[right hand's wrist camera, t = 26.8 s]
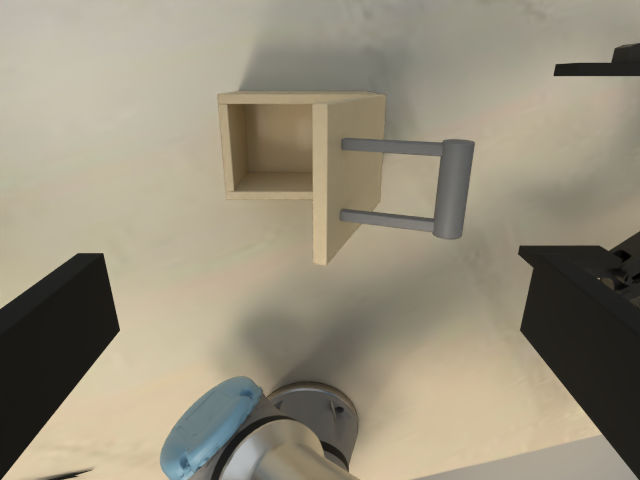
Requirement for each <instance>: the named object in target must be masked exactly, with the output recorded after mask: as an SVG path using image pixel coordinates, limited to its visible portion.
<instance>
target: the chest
mask: <svg viewBox="0 0 640 480" xmlns="http://www.w3.org/2000/svg"><path fill="white" fill-rule="evenodd" d="M370 95H377V93H373V92H369V91H235V92H229V93H222V94H217V96H218V107H219V118H220V130H221V141H222V153H223V164H224V176H225V187H226V199H227V200H313V136H312V105H313V104H314V103H321V102H328V101H335V100H342V99H349V98H356V97H363V96H370ZM378 95H380V94H378Z"/></svg>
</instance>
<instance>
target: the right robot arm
mask: <svg viewBox="0 0 640 480" xmlns="http://www.w3.org/2000/svg"><path fill="white" fill-rule="evenodd" d="M119 331H120V328H119V323H118V319H117V314H116V310H115V305H114V300H113V296H112V291H111V287H110V282H109V278H108V273H107V268H106V264H105V259H104V255H103V253H78V254H76V255H75V256H73V257H72V258H71V259H69V260H68V261H67V262H65V263H64V264H62V265H61V266H60V267H58V268H57V269H55V270H54V271H53V272H51V273H50V274H48V275H47V276H46V277H44V278H43V279H42V280H40V281H39V282H37V283H36V284H35V285H33V286H32V287H30V288H29V289H28V290H26V291H25V292H24V293H22V294H21V295H19V296H18V297H17V298H15V299H14V300H12V301H11V302H10V303H8V304H7V305H5V306H4V307H3V308H1V309H0V480H1V479H2V478H3V477H4V475H5V474H6V473H7V472H8V470H9V469H10V468H11V467H12V465H13V464H14V463H15V462H16V460H17V459H18V458H19V457H20V455H21V454H22V453H23V452H24V450H25V449H26V448H27V447H28V445H29V444H30V443H31V442H32V440H33V439H34V438H35V436H36V435H37V434H38V433H39V431H40V430H41V429H42V428H43V426H44V425H45V424H46V423H47V421H48V420H49V419H50V418H51V416H52V415H53V414H54V413H55V411H56V410H57V409H58V408H59V406H60V405H61V404H62V403H63V401H64V400H65V399H66V398H67V396H68V395H69V394H70V392H71V391H72V390H73V389H74V387H75V386H76V385H77V384H78V382H79V381H80V380H81V379H82V377H83V376H84V375H85V374H86V372H87V371H88V370H89V369H90V367H91V366H92V365H93V364H94V362H95V361H96V360H97V359H98V357H99V356H100V355H101V354H102V352H103V351H104V350H105V349H106V347H107V346H108V345H109V343H110V342H111V341H112V340H113V338H114V337H115V336H116V335H117V333H118V332H119ZM520 331H521V332H522V333H523V335H524V336H525V337H526V338H527V340H528V341H529V342H530V343H531V345H532V346H533V347H534V349H535V350H536V351H537V352H538V354H539V355H540V356H541V357H542V359H543V360H544V361H545V362H546V364H547V365H548V366H549V367H550V369H551V370H552V371H553V372H554V374H555V375H556V376H557V377H558V379H559V380H560V381H561V382H562V384H563V385H564V386H565V387H566V389H567V390H568V391H569V392H570V394H571V395H572V396H573V398H574V399H575V400H576V401H577V403H578V404H579V405H580V406H581V408H582V409H583V410H584V411H585V413H586V414H587V415H588V416H589V418H590V419H591V420H592V421H593V423H594V424H595V425H596V426H597V428H598V429H599V430H600V431H601V433H602V434H603V435H604V436H605V438H606V439H607V440H608V441H609V443H610V444H611V445H612V447H613V448H614V449H615V450H616V452H617V453H618V454H619V455H620V457H621V458H622V459H623V460H624V462H625V463H626V464H627V465H628V467H629V468H630V469H631V470H632V472H633V473H634V474H635V475H636V477H637V478H638V479H639V480H640V309H639V308H637V307H636V306H635V305H633V304H632V303H630V302H629V301H628V300H626V299H625V298H623V297H622V296H621V295H619V294H618V293H616V292H615V291H614V290H612V289H611V288H610V287H608V286H607V285H605V284H604V283H603V282H601V281H600V280H598V279H597V278H596V277H594V276H593V275H591V274H590V273H589V272H587V271H586V270H585V269H583V268H582V267H580V266H579V265H578V264H576V263H575V262H573V261H572V260H571V259H569V258H568V257H567V256H565V255H564V254H562V253H537V255H536V259H535V264H534V268H533V273H532V278H531V282H530V287H529V291H528V296H527V300H526V305H525V310H524V314H523V319H522V323H521V328H520Z"/></svg>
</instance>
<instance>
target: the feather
mask: <svg viewBox="0 0 640 480" xmlns="http://www.w3.org/2000/svg"><path fill="white" fill-rule="evenodd" d="M89 471H91V470H89ZM85 472H88V471H85ZM85 472H80V473H76V474H71V475H67V476H62V477H58V478H53V479H49V480H64V479H68V478H73V477H78V476H75V475H78V474H81V473H85Z"/></svg>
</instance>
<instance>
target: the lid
mask: <svg viewBox="0 0 640 480" xmlns="http://www.w3.org/2000/svg"><path fill="white" fill-rule="evenodd" d="M385 110H386V95H378V94H377V95H370V96H363V97H356V98H349V99H342V100H335V101H328V102H321V103H314V104H313V105H312V136H313V263H315V264H321V265H327V264H328V263H329V262H330V260H331V259H332V258H333V257H334V256H335V254H336V253H337V252H338V251H339V250H340V249H341V247H342V246H343V245H344V244H345V243H346V241H347V240H348V239H349V238H350V237H351V236H352V234H353V233H354V232H355V231H356V230H357V228H358V227H359V226H360V225H361V224H370V225H378V226H387V227H395V228H403V229H411V230H419V231H428V232H432V233H433V235H434V236H436V237H438V238H442V239H458V238H460V237H461V236H462V230H463V223H464V216H465V209H466V202H467V195H468V188H469V181H470V173H471V166H472V159H473V152H474V145H475V143H474V142H473V141H469V140H457V139H451V140H444V141H443V142H442V143H439V142H420V141H400V140H384V127H385ZM383 153H397V154H413V155H429V156H441V159H440V168H439V177H438V186H437V195H436V204H435V213H434V219H432V218H423V217H414V216H405V215H396V214H387V213H378V212H372V211H373V210H374V208H375V207H376V206H377V205H378V204H379V202H380V195H381V178H382V161H383Z"/></svg>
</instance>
